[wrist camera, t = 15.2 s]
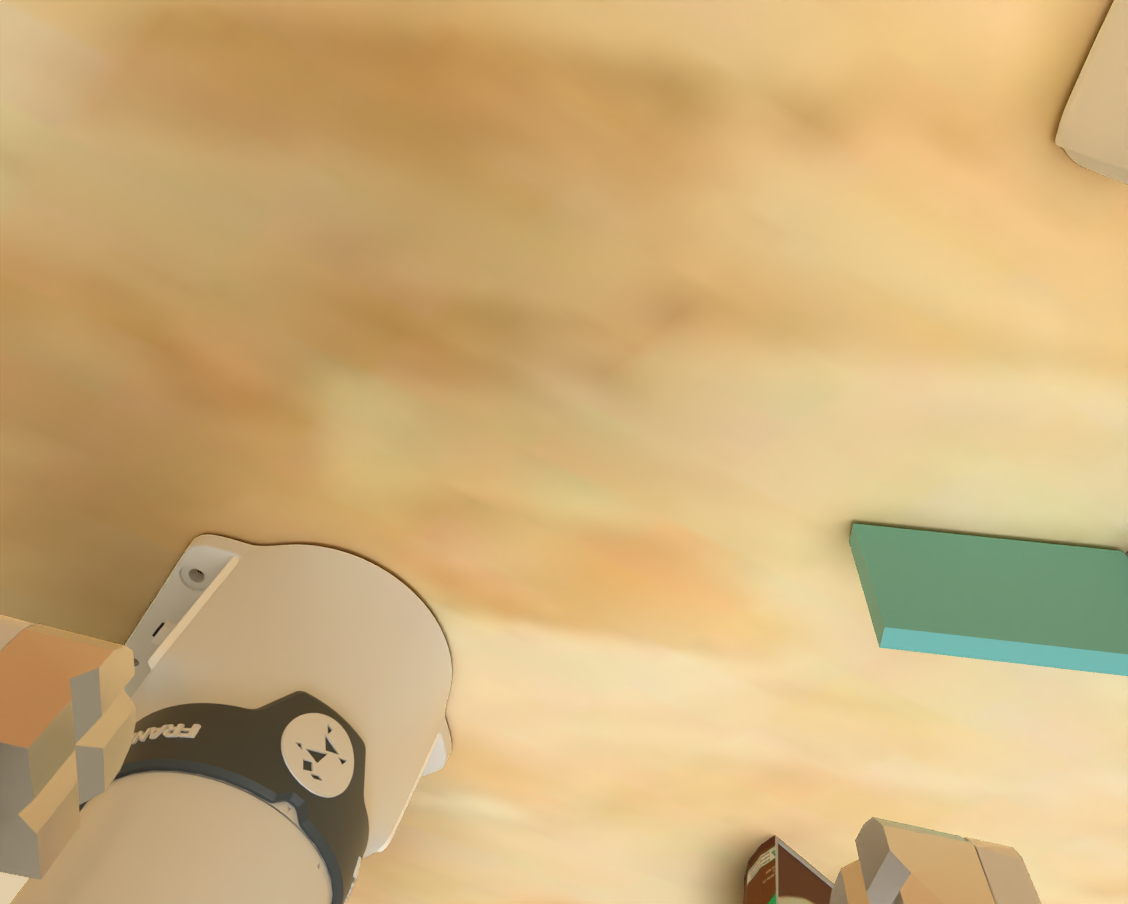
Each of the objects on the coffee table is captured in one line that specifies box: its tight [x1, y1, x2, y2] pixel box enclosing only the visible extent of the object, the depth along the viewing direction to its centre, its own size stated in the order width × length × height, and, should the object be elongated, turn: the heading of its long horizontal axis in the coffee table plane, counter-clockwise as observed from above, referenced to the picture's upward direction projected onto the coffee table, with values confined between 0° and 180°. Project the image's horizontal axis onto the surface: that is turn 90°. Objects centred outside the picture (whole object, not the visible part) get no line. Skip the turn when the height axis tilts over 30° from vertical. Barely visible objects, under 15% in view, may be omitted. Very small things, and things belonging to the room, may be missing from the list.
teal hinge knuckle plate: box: [849, 523, 1128, 676], centre depth 38 cm, size 20×7×8 cm, turn 87°
